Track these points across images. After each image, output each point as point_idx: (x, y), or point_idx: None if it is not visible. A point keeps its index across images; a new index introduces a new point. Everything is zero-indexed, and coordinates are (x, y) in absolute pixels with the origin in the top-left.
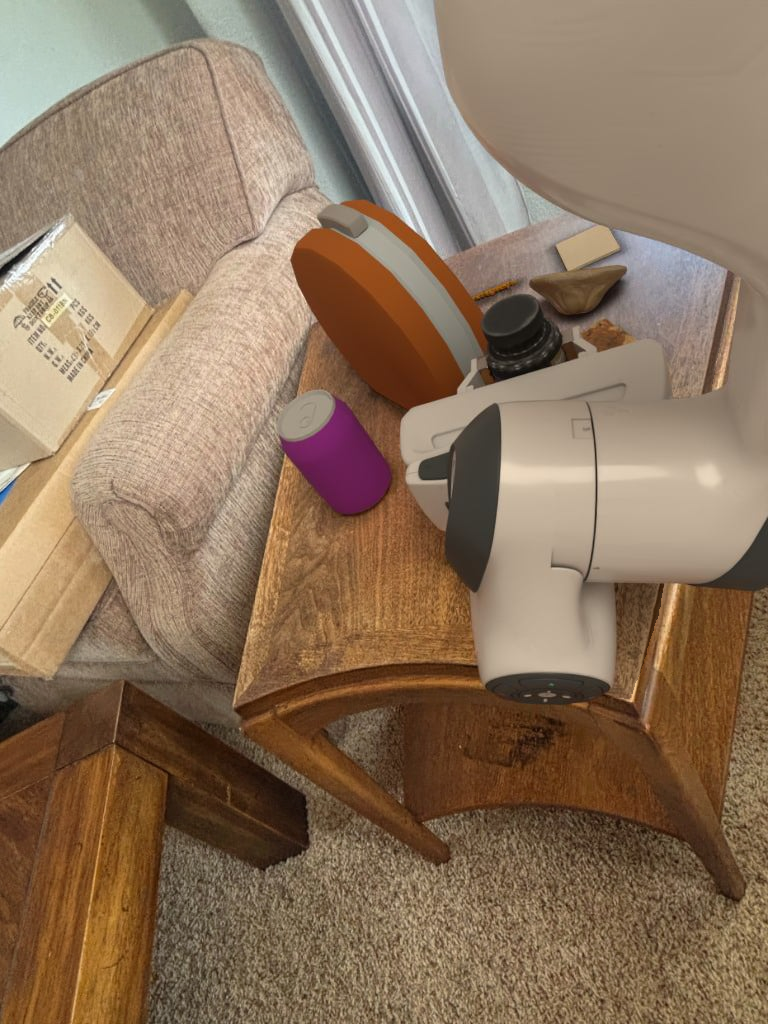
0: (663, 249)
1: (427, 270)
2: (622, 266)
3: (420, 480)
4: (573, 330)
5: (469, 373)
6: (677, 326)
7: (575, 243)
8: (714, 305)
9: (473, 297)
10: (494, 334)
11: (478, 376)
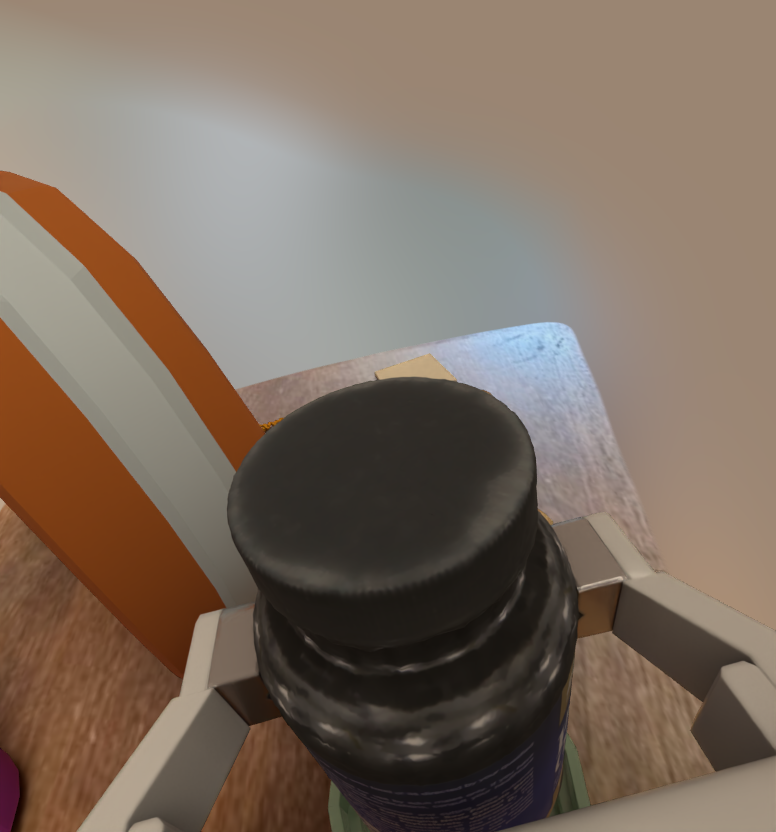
0: (511, 385)
1: (123, 321)
2: (490, 393)
3: None
4: (599, 530)
5: (170, 706)
6: (581, 486)
7: (399, 372)
8: (622, 458)
9: (269, 423)
10: (296, 575)
11: (213, 716)
